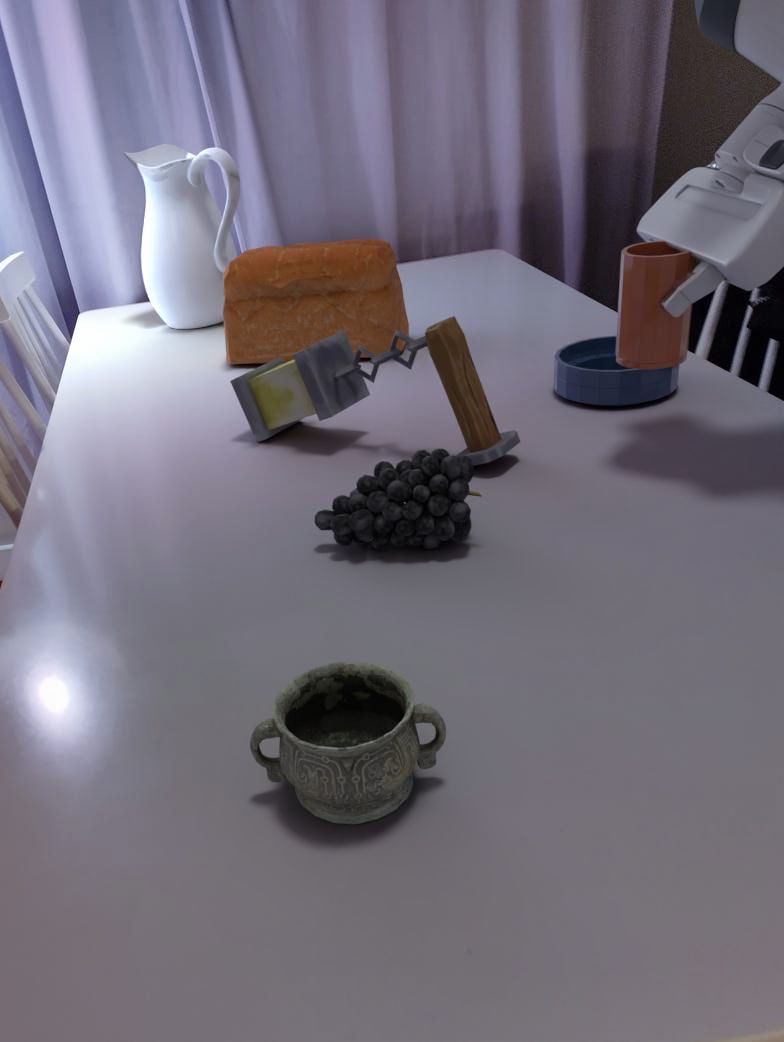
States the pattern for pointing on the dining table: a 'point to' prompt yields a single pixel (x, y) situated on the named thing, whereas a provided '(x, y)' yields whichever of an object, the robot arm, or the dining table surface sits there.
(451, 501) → the fruit
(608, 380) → the bowl
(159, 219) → the pitcher
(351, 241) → the bread
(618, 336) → the cup
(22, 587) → the dining table surface
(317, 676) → the vessel
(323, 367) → the lantern
